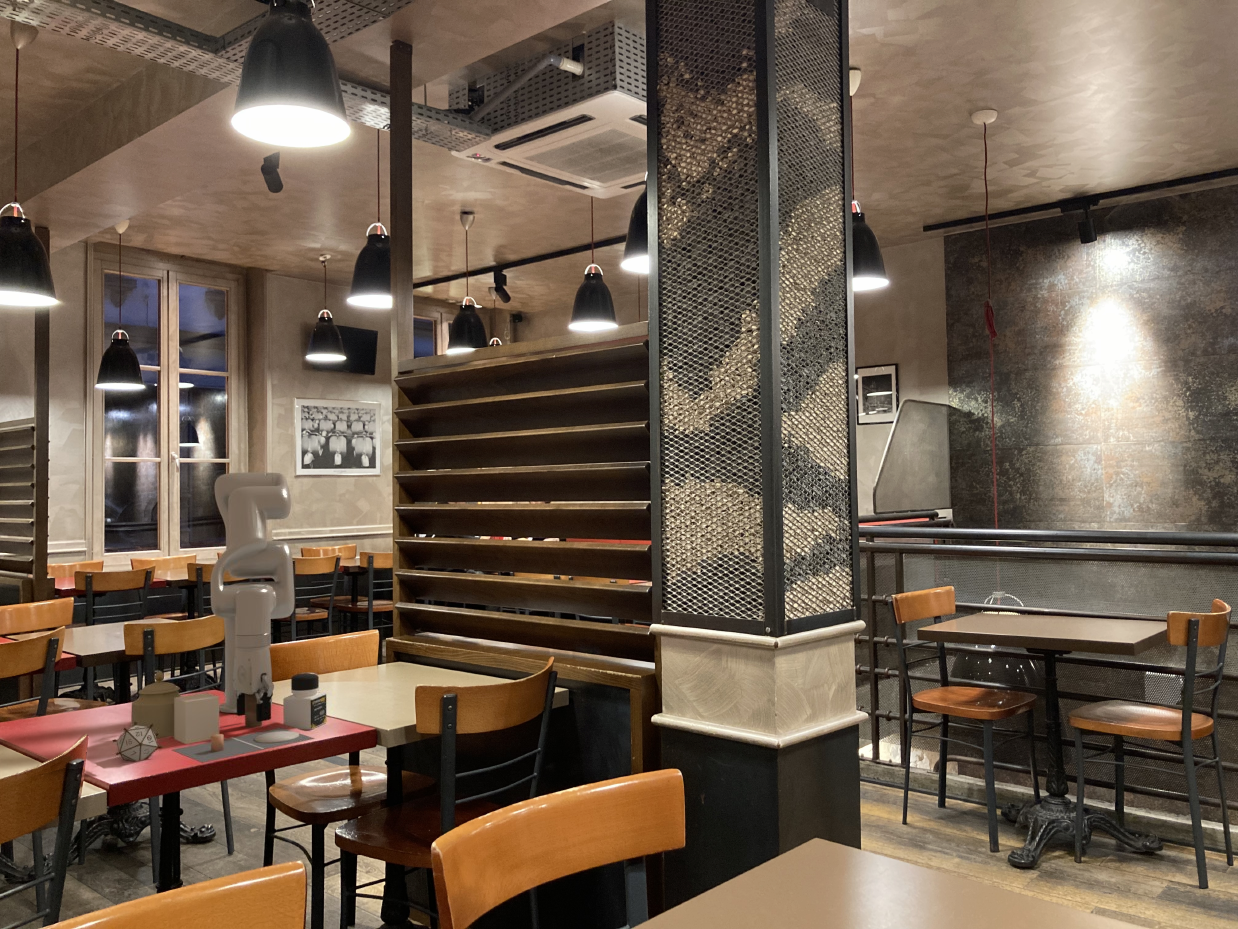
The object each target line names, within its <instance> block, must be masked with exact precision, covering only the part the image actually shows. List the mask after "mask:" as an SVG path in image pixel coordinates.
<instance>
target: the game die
mask: <svg viewBox="0 0 1238 929" xmlns="http://www.w3.org/2000/svg"><path fill="white" fill-rule="evenodd" d="M134 725H135V726H133V727H130V728H127V727H123V730H124V732H123V733H122V734H121V735H120V736H119V737H118V738H117V739H116V738H114V739H111V740H112V742H113V743H116V745H117V750H118V751H117V752H115V756H117V757H118V756H119V755H120V756H121V758H122V759H123V761H130V762H131V761H133V762H141V761H144V760H146V759H147V758H148V759H149V757H150V756H152V755H153V754H154V753H155V752H156V751H157V750H158V749H160V750H162V749H163V748H164V747H163V746H161V745H159V743H158V739H156V736H158V733H156V734H154V732H153V730H152V728H151V727H153V724H151V725H150V727H148V726H140V725H137V722H136V721H135V723H134Z"/></svg>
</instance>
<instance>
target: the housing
mask: <svg viewBox="0 0 1238 929" xmlns="http://www.w3.org/2000/svg"><path fill="white" fill-rule="evenodd" d="M182 696H183V697H176V698H174V736H173V738H174V740H176V741H178V742H180V743H182V744H185V745H189V744H194V743H198V742H200V743H201V742H205V741H209V740H210V741H211V736H212V735H215V734H220V711H219V705H220V696H217V695H215V694H212V693H209V692H202V693H196V694H191V695H182Z"/></svg>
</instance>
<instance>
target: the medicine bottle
mask: <svg viewBox="0 0 1238 929" xmlns="http://www.w3.org/2000/svg"><path fill="white" fill-rule="evenodd" d="M319 681H320V680H319V675H318V674H317V673H314V672H302V673H296V674H294V675H293V676H292V677H291V679H290V684H291V685H290V686H291V687H290V688H291V691H290V692H291V695H288V696H286V697H285V696H284V698H283V700H282V701H283V702H282V703H283V704H282V705H283V706H282V707H283V726H287V727H291V728H292V729H293V728H294V729H297V730H302V731H304V730H305V731H311V730H314V729H316V728H319V727H320V726H322V725H324V724H326V723H327V693H326V692H322V691H321V692H319V690H320V689H319V688H320V687H319V685H320V684H319Z"/></svg>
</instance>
